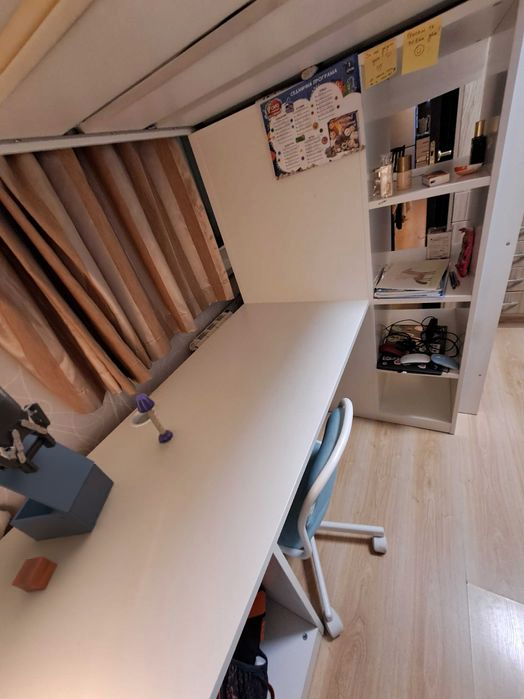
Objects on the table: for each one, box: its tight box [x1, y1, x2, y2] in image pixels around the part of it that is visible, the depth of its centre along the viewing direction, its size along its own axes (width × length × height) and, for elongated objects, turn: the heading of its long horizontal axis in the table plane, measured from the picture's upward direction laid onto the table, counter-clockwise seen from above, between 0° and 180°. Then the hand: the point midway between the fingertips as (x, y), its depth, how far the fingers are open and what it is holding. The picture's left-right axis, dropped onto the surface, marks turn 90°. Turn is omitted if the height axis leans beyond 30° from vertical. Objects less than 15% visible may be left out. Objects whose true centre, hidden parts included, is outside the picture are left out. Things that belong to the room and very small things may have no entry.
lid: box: [0, 434, 96, 513], centre depth 64 cm, size 16×13×5 cm
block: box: [11, 556, 58, 593], centre depth 61 cm, size 4×4×4 cm
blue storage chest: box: [9, 463, 115, 542], centre depth 72 cm, size 16×13×9 cm
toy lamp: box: [134, 393, 173, 444], centre depth 83 cm, size 5×5×17 cm
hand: (43, 458), depth 62 cm, fingers closed on lid, 5 cm apart
